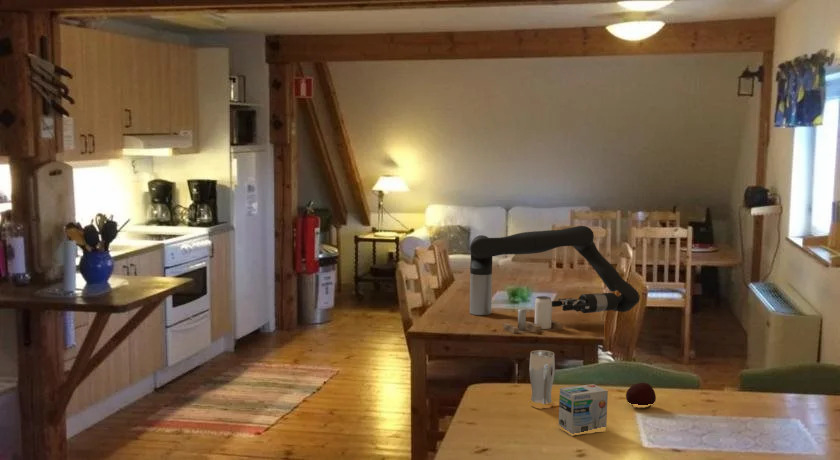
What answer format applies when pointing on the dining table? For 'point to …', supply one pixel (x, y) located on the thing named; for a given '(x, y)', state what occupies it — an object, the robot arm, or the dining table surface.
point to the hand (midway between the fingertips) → (557, 306)
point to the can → (543, 312)
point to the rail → (531, 327)
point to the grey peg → (522, 319)
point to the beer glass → (541, 375)
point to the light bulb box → (582, 408)
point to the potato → (641, 394)
